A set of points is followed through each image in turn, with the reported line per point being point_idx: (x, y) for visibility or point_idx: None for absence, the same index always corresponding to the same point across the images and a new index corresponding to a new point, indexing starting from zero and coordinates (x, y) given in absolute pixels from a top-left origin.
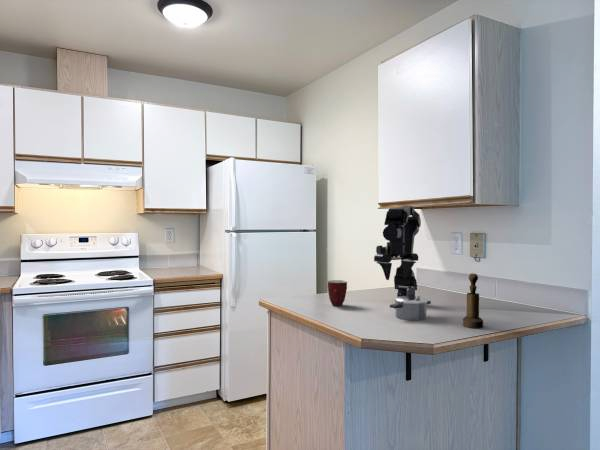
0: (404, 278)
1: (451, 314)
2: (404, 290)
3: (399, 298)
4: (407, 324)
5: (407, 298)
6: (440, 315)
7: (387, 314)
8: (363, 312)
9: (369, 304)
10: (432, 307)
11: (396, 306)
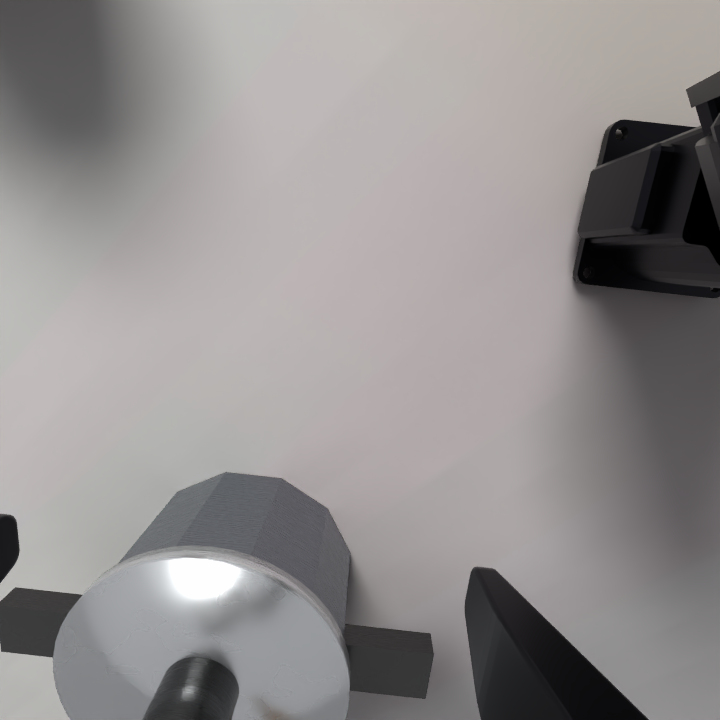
0: (468, 585)
1: None
2: (702, 245)
3: (112, 627)
4: None
5: (161, 682)
6: (461, 636)
7: (168, 424)
8: (41, 267)
9: (327, 15)
10: (679, 461)
11: (28, 647)
